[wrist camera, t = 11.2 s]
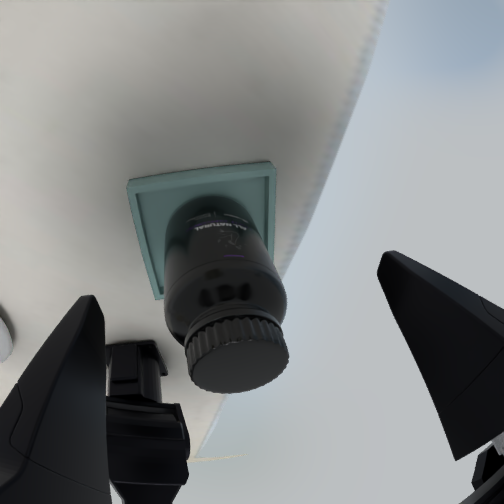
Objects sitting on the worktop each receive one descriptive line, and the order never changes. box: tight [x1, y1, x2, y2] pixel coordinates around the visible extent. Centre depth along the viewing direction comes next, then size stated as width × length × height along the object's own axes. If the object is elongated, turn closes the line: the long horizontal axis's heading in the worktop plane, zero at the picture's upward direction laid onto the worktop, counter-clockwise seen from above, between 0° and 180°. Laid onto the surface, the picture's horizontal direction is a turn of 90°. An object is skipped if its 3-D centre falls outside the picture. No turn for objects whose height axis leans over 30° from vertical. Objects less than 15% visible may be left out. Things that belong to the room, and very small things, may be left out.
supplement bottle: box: [164, 196, 289, 394], centre depth 18 cm, size 7×7×12 cm
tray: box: [126, 162, 276, 300], centre depth 22 cm, size 10×10×2 cm
